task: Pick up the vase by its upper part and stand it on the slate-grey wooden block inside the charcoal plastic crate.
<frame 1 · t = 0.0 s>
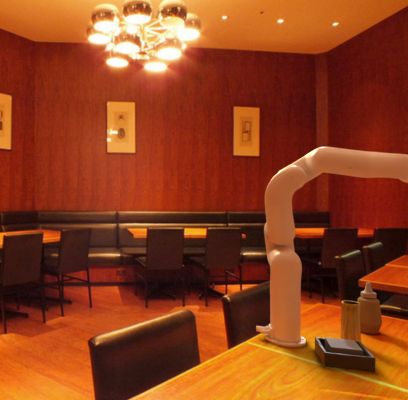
block: (343, 360, 112), resting on crate
crate: (343, 361, 112), on the table
squeeze bottle: (368, 332, 137), on the table
vase: (350, 345, 125), on the table
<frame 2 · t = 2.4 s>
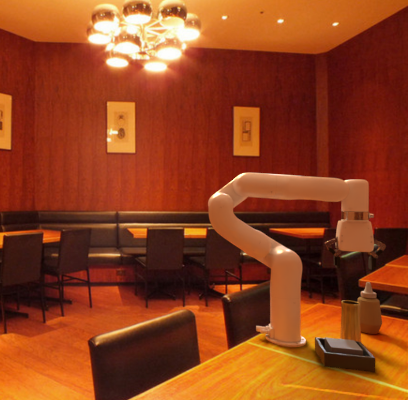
hand: (354, 268, 124), 26 cm above the table, tool pointing down, fingers open, 9 cm apart
nothing on the table moved.
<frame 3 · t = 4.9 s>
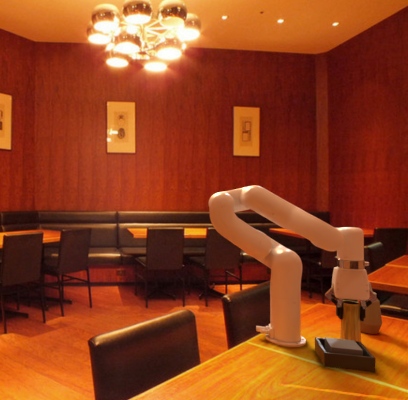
hand: (350, 318, 125), 9 cm above the table, tool pointing down, fingers closed on vase, 5 cm apart
vase: (350, 345, 125), on the table, touching gripper
everything else where it was.
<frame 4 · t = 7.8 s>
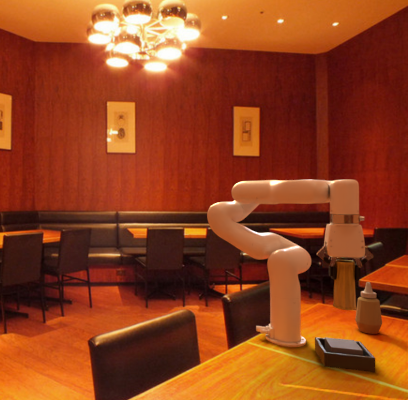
hand: (344, 278, 115), 24 cm above the table, tool pointing down, fingers closed on vase, 5 cm apart
vase: (344, 308, 115), point 15 cm above the table, touching gripper
everything else where it was.
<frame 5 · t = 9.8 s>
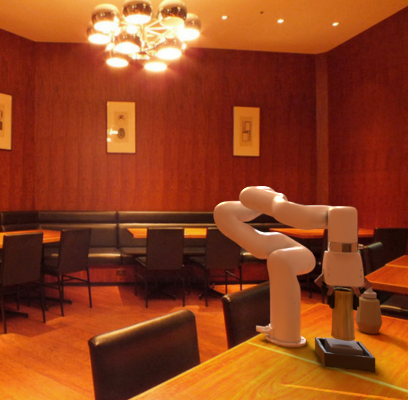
hand: (342, 307, 112), 16 cm above the table, tool pointing down, fingers closed on vase, 5 cm apart
vase: (342, 338, 112), point 7 cm above the table, touching gripper
everything else where it was.
when the fingers open (14 cm above the table, at t = 10.8 s): vase stays where it is, resting on block.
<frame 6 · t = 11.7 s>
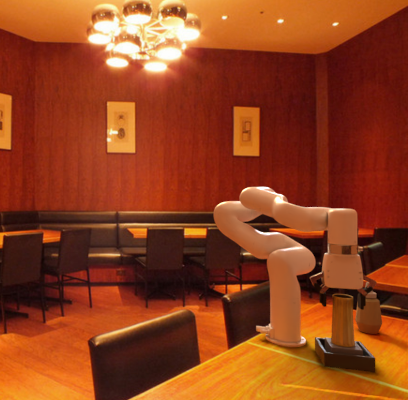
hand: (342, 306, 112), 16 cm above the table, tool pointing down, fingers open, 9 cm apart
block: (343, 360, 112), resting on crate, touching vase
vase: (342, 344, 112), point 5 cm above the table, touching block
everything else where it was.
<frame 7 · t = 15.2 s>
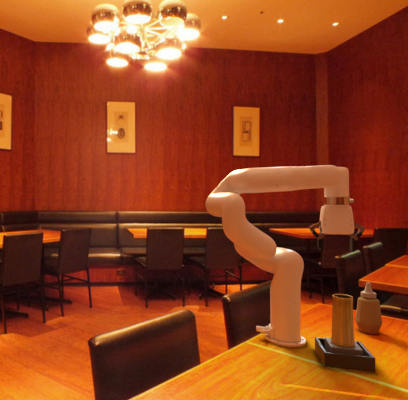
hand: (336, 250, 133), 30 cm above the table, tool pointing down, fingers open, 9 cm apart
nothing on the table moved.
at the end: vase 0.0 cm off-centre on the block, point 4.8 cm above the block's base; vase tilted 0°; block inside the target area in the crate (0.0 cm from its centre), point 0.5 cm above the crate's base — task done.
